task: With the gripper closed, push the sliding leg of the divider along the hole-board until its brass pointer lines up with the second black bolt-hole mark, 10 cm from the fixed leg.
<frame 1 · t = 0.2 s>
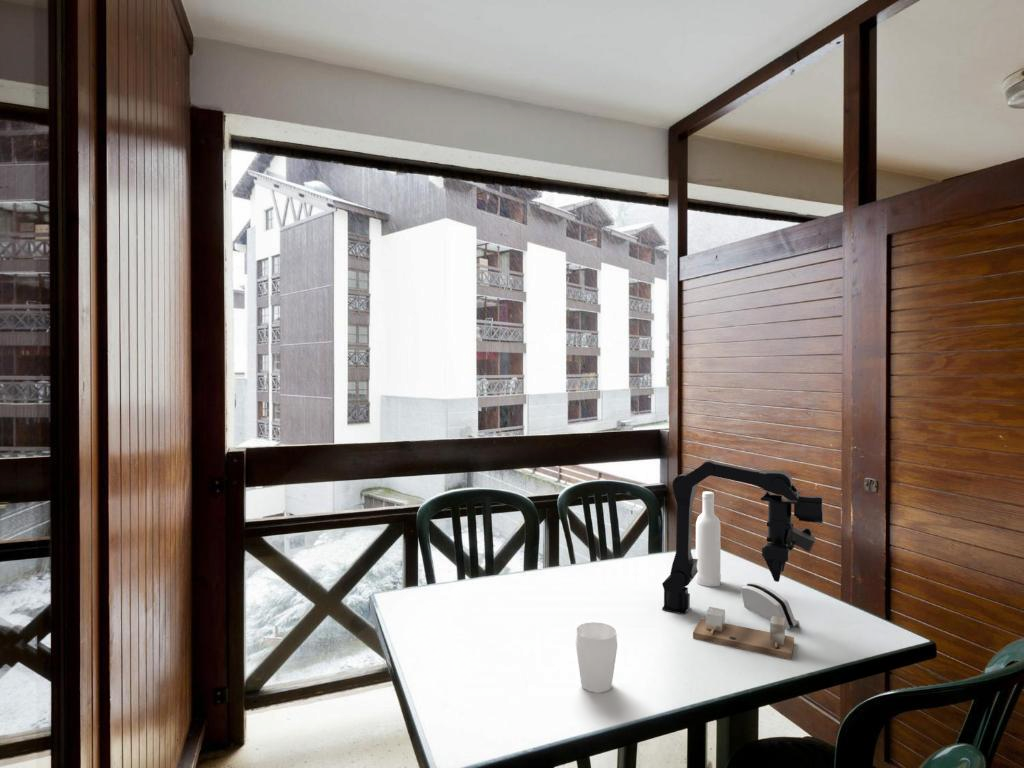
hand: (779, 576, 153), 14 cm above the table, tool pointing down, fingers open, 9 cm apart
hole board: (743, 640, 146), on the table
cup: (596, 686, 125), on the table
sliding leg: (714, 620, 149), point 4 cm above the table, slide at -5.0 cm
bottle: (707, 583, 188), on the table
light grey curved piece: (767, 618, 161), on the table
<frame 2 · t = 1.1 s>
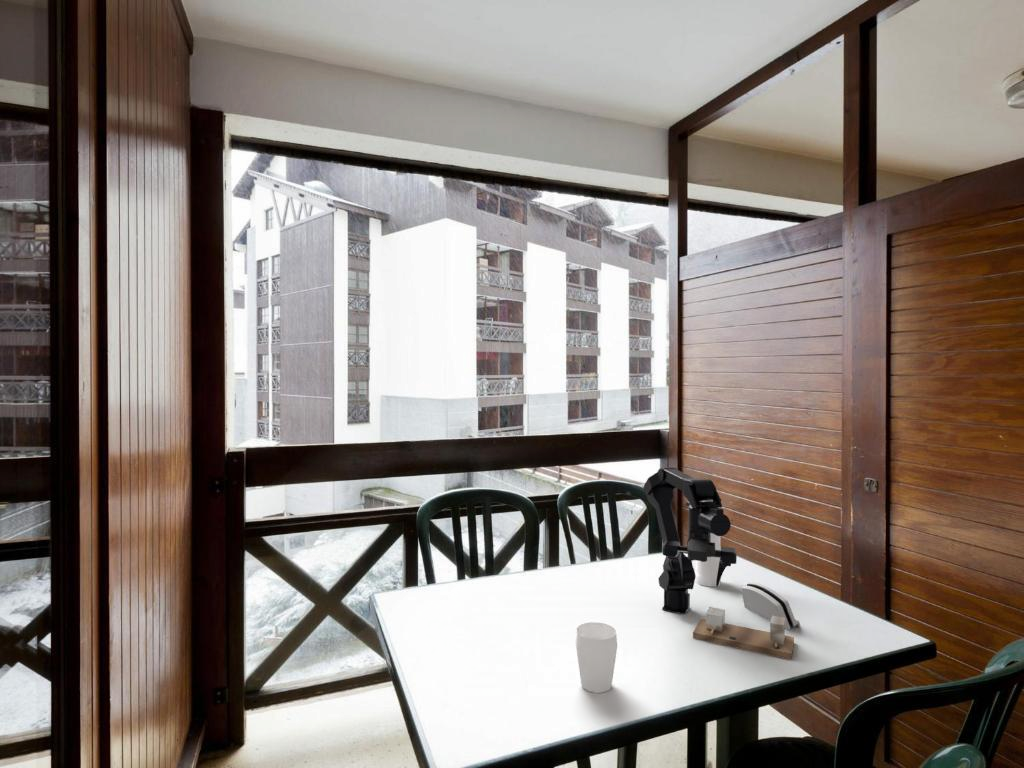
hand: (699, 583, 154), 12 cm above the table, tool pointing down, fingers open, 9 cm apart
nothing on the table moved.
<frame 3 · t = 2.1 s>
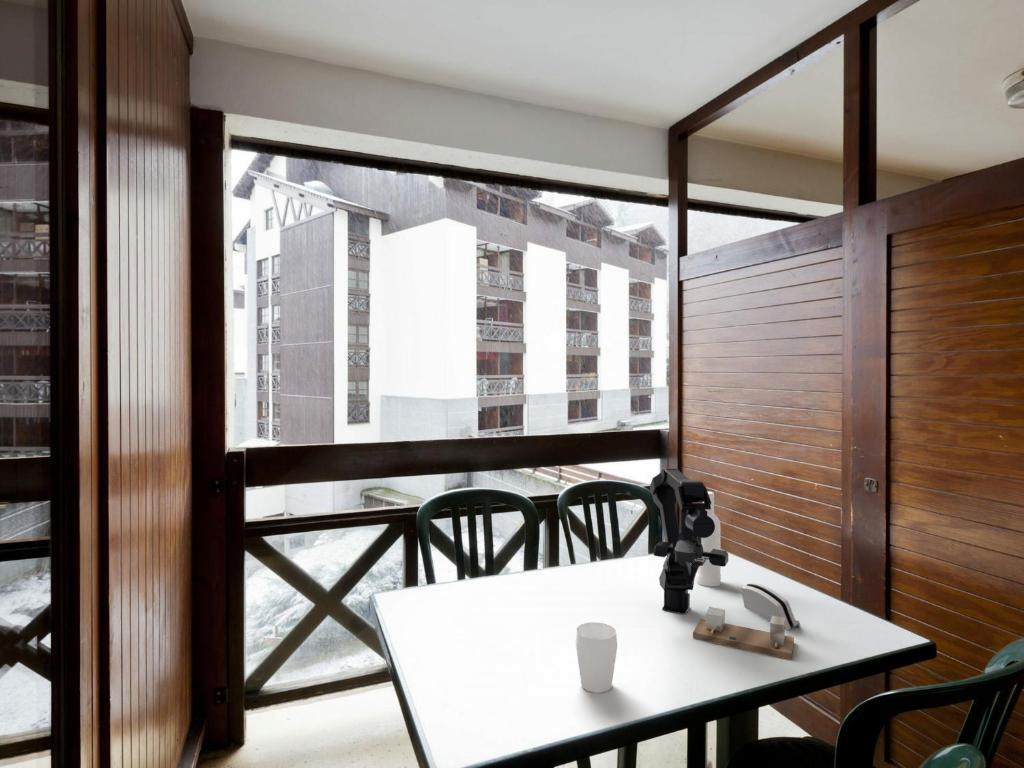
hand: (690, 585, 154), 12 cm above the table, tool pointing down, fingers closed
nothing on the table moved.
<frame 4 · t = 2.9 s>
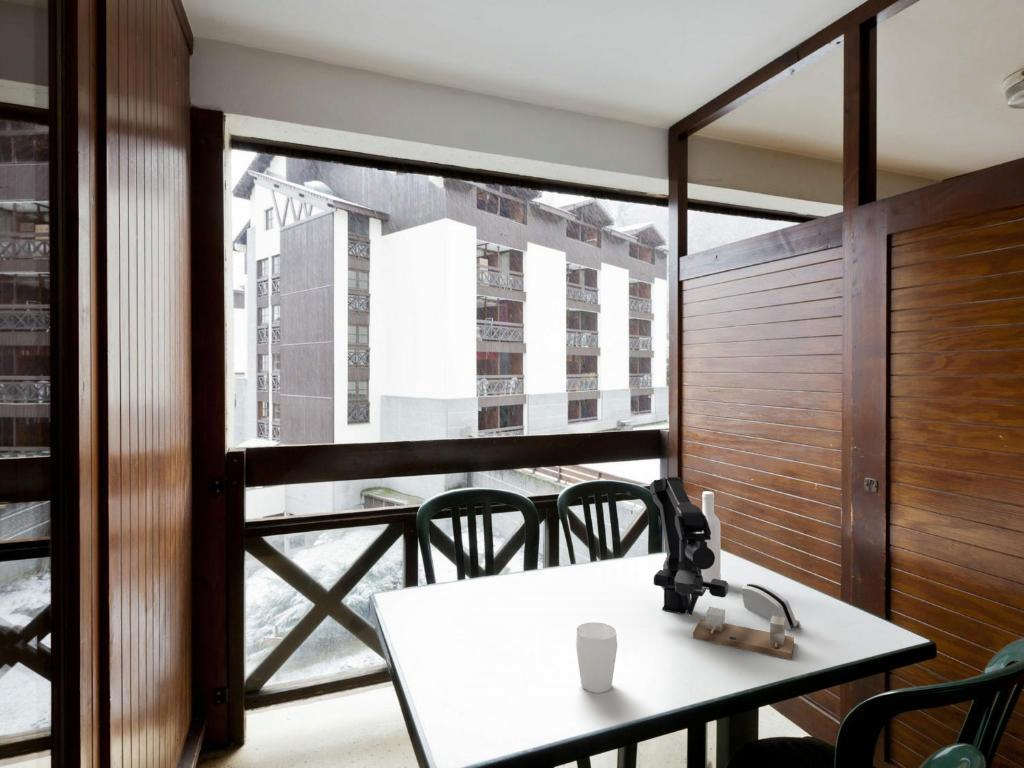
hand: (690, 614, 154), 4 cm above the table, tool pointing down, fingers closed
nothing on the table moved.
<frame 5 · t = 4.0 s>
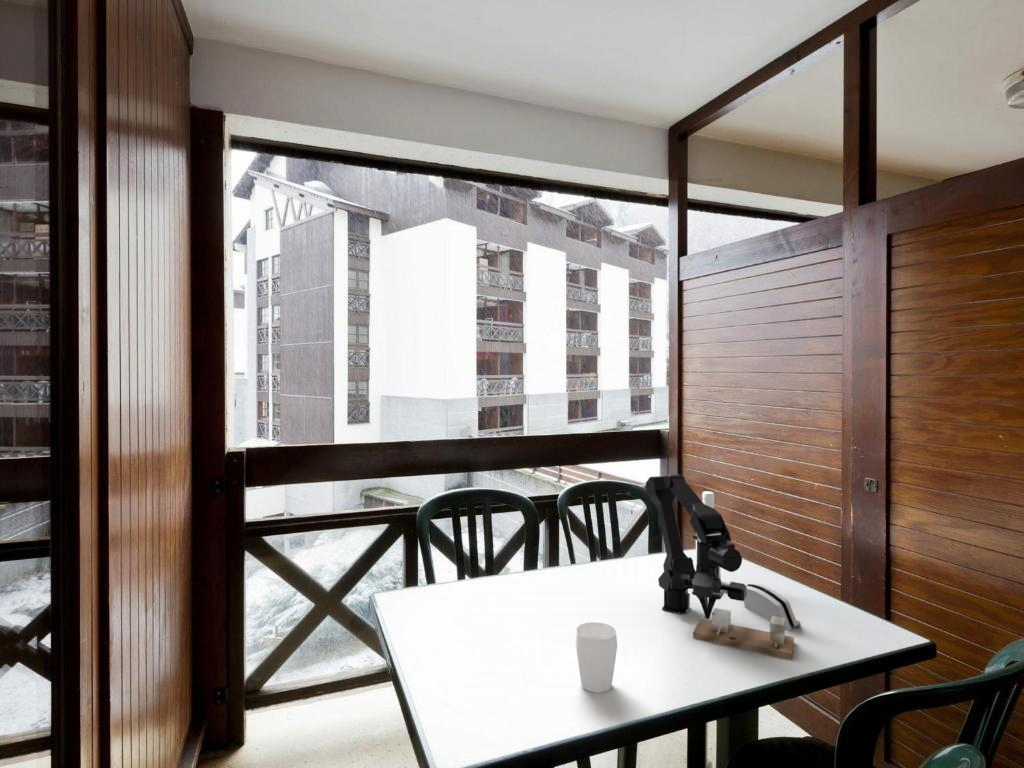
hand: (707, 618, 151), 4 cm above the table, tool pointing down, fingers closed
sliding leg: (720, 622, 149), point 4 cm above the table, slide at -3.5 cm, touching gripper
everything else where it was.
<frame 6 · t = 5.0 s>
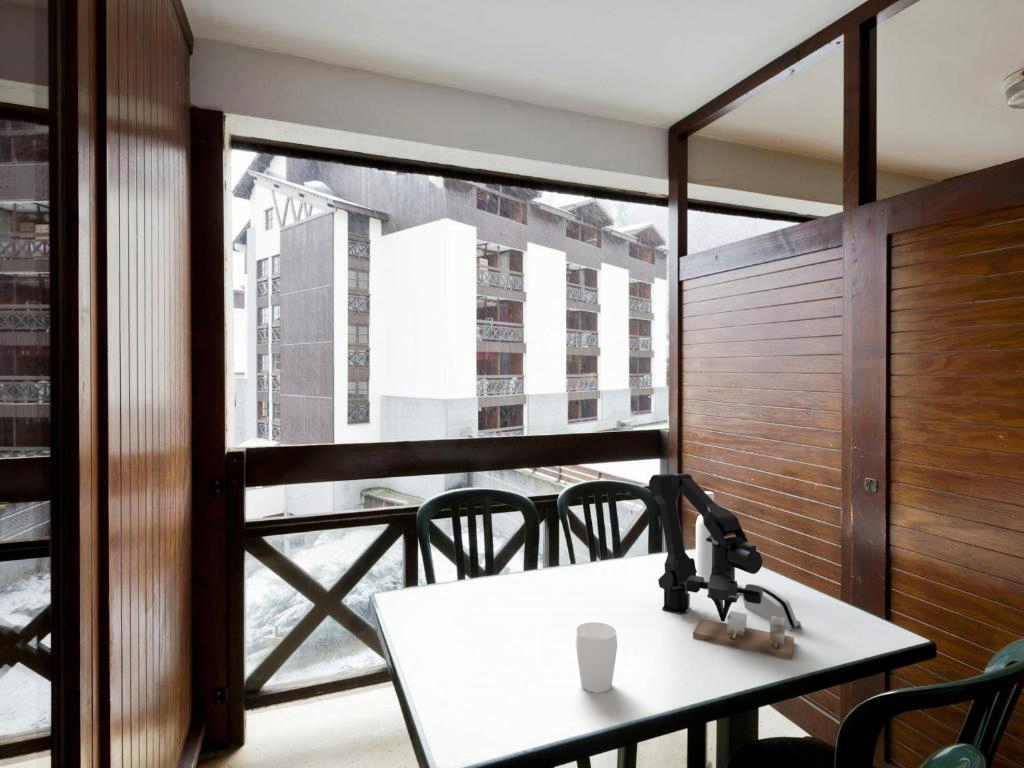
hand: (723, 621, 150), 4 cm above the table, tool pointing down, fingers closed
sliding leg: (736, 625, 147), point 4 cm above the table, slide at 0.4 cm, touching gripper
everything else where it was.
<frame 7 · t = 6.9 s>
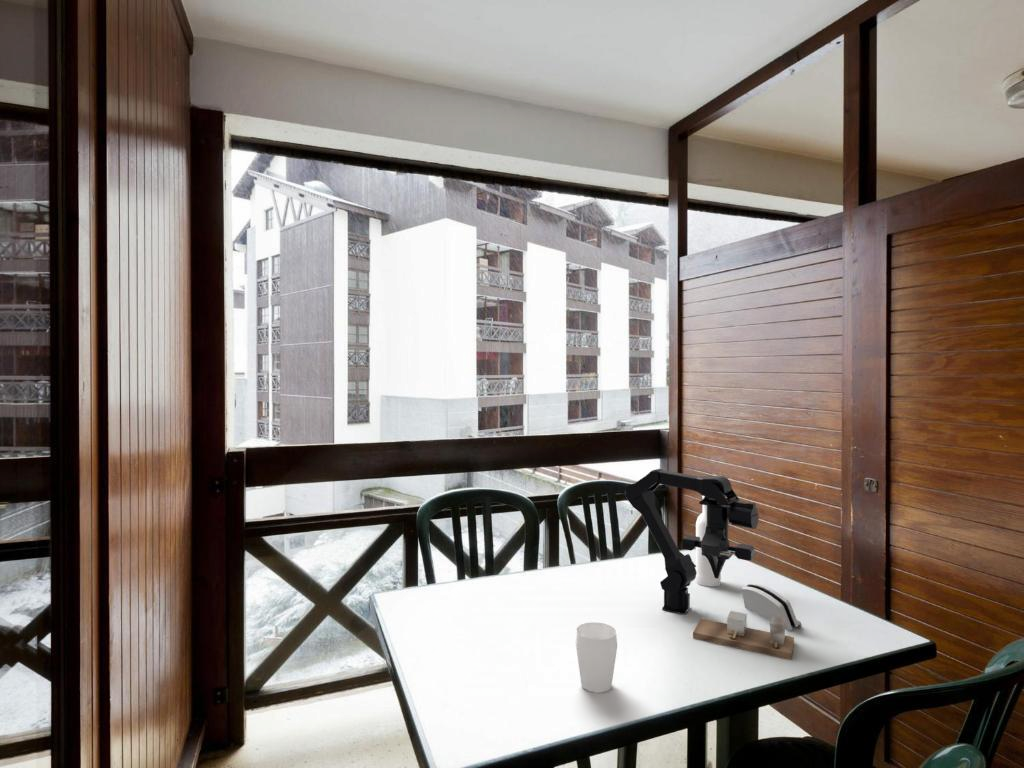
hand: (716, 578, 158), 12 cm above the table, tool pointing down, fingers closed
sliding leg: (736, 625, 147), point 4 cm above the table, slide at 0.4 cm
everything else where it was.
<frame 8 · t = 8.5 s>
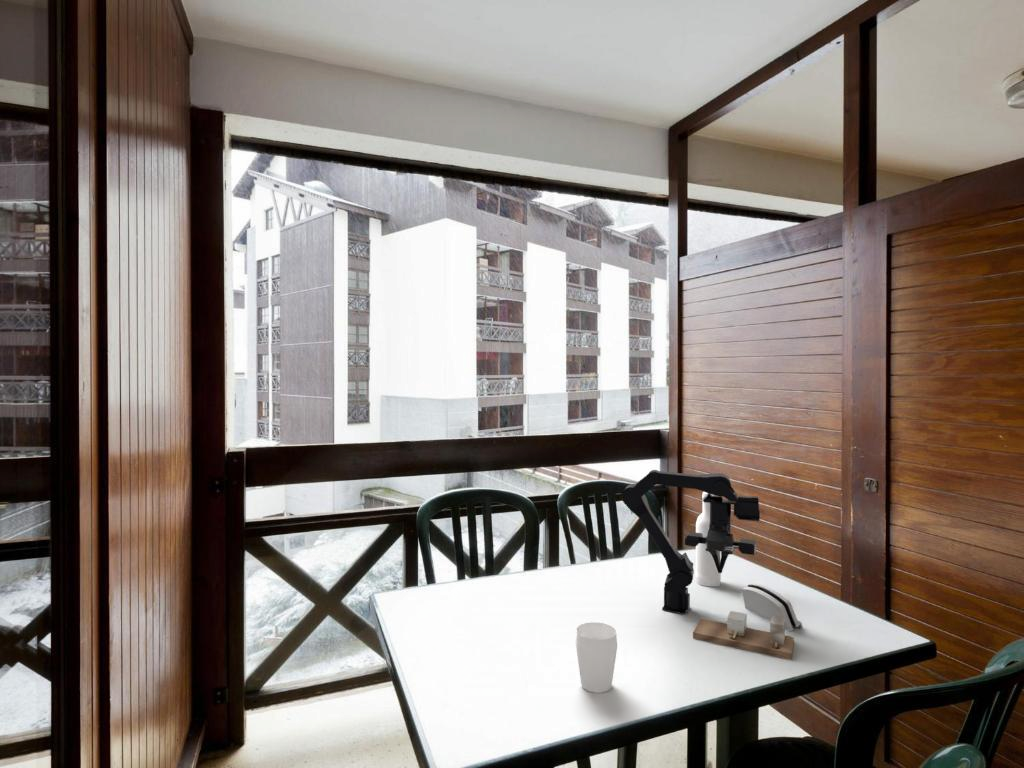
hand: (720, 572, 162), 12 cm above the table, tool pointing down, fingers closed
nothing on the table moved.
at the end: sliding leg slide at 0.4 cm; light grey curved piece moved 0.9 cm from its start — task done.
